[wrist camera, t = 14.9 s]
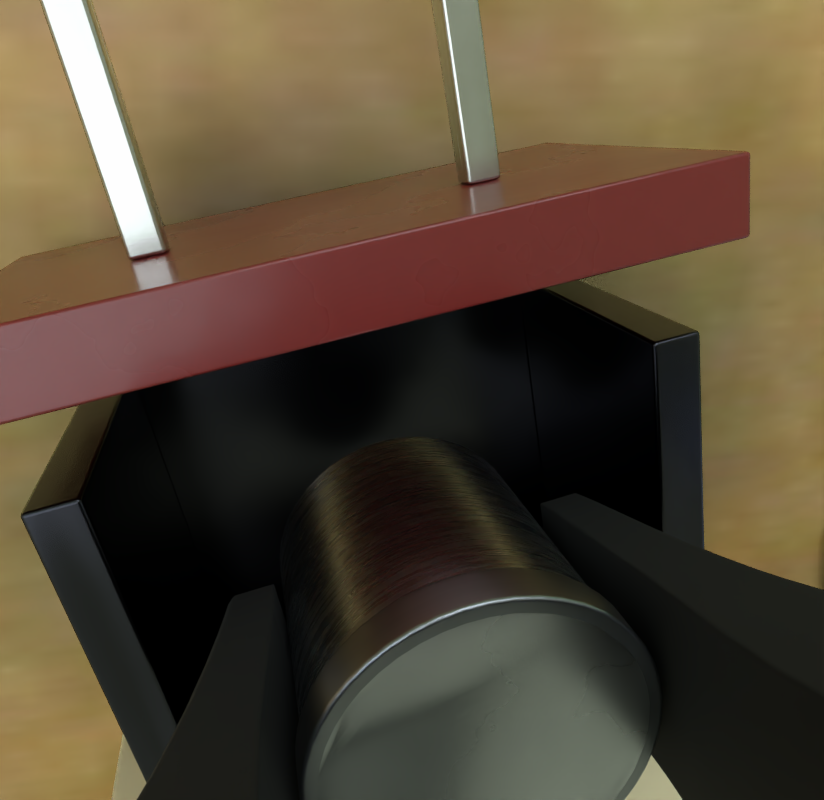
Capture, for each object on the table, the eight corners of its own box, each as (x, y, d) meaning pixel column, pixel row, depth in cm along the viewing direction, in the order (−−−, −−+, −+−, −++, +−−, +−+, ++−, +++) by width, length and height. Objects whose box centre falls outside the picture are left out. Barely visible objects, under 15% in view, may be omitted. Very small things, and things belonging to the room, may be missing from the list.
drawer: (-115, -76, 12) (-481, -296, 6) (516, -167, 14) (755, -411, 7) (214, 740, 19) (209, 1024, 13) (595, 614, 21) (746, 813, 15)
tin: (533, 607, 14) (671, 821, 9) (308, 680, 13) (348, 946, 9) (503, 399, 12) (655, 547, 8) (241, 471, 11) (251, 677, 7)
